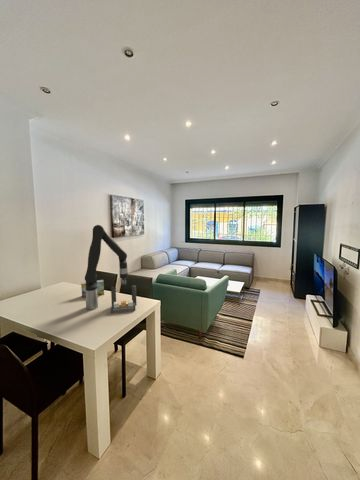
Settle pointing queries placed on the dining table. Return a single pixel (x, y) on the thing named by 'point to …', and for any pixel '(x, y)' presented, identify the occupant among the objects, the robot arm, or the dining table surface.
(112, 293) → the post
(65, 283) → the dining table surface
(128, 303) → the paddle
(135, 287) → the post
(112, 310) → the breaker strip
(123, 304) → the paddle
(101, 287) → the snack box
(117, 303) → the paddle
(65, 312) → the dining table surface
